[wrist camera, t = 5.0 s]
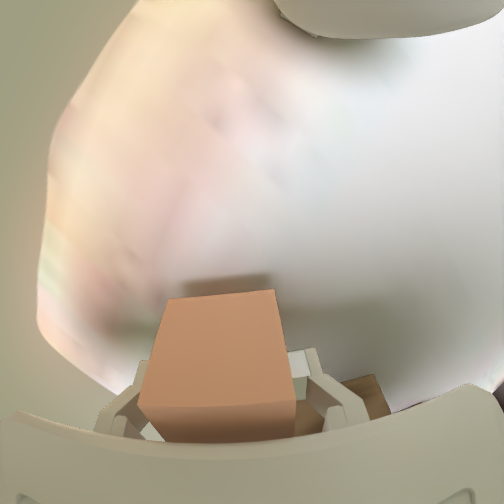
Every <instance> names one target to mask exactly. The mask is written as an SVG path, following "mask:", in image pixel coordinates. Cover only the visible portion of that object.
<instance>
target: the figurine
mask: <svg viewBox="0 0 504 504" xmlns="http://www.w3.org/2000/svg"><path fill="white" fill-rule="evenodd" d="M274 2H275V4H276V5H277V7H278V8H279V10H280V11H281V14H280V15H281V17H283V18H284V19H286V20H288V21H289V22H291V23H293V24H294V25H296V26H297V27H299V28H300V29H302V30H303V31H305V32H307V33H308V34H310V35H311V36H313V37H314V38H317V37H319V36H324V37H329V38H339V39H380V38H407V37H421V36H430V35H436V34H441V33H446V32H450V31H454V30H458V29H462V28H466V27H469V26H473V25H476V24H479V23H481V22H484V21H486V20H488V19H490V18H492V17H494V16H495V15H496V14H498V13H499V12H500V11H501V10H502V9H503V7H504V0H274Z"/></svg>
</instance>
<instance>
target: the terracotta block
mask: <svg viewBox="0 0 504 504" xmlns="http://www.w3.org/2000/svg"><path fill="white" fill-rule="evenodd" d="M137 405H138V407H139V408H140V409H141V411H142V412H143V414H144V415H145V416H146V417H147V419H148V420H149V421H150V423H151V424H152V425H153V426H154V428H155V429H156V430H157V431H158V433H159V434H160V435H161V436H162V438H164V440H165V441H166V442H176V443H240V442H255V441H267V440H276V439H284V438H291V437H294V434H295V416H296V395H295V390H294V385H293V379H292V374H291V369H290V364H289V359H288V354H287V349H286V344H285V339H284V334H283V329H282V325H281V320H280V315H279V310H278V305H277V300H276V295H275V291H274V289H268V290H259V291H250V292H240V293H230V294H220V295H209V296H198V297H186V298H173V299H168V301H167V304H166V307H165V310H164V314H163V317H162V320H161V323H160V326H159V329H158V332H157V336H156V339H155V342H154V345H153V349H152V352H151V356H150V359H149V362H148V366H147V369H146V373H145V377H144V380H143V384H142V388H141V391H140V395H139V399H138V403H137Z"/></svg>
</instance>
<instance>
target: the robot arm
mask: <svg viewBox="0 0 504 504" xmlns="http://www.w3.org/2000/svg"><path fill="white" fill-rule="evenodd" d="M287 354H288V359H289V364H290V369H291V374H292V379H293V385H294V390H295V395H296V401H297V400H305V399H306V401H307V402H308V403H309V404H310V405H311V406H312V407H313V408H314V409H315V410H316V411H317V412H318V413H319V414H320V415H321V416H322V417H324V418H325V421H324V425H323V429H322V432H321V433H316V434H310V435H305V436H298V437H291V438H284V439H276V440H267V441H255V442H240V443H176V442H161V441H150V440H146V439H145V438H144V437H143V436H142V435H141V434H140V432H141V431H142V429H143V428H144V427H145V426H146V424H147V423H148V422H149V420H148V419H147V417H146V416H145V415H144V414H143V412H142V411H141V409H140V408H139V407H138V405H137V403H138V399H139V395H140V391H141V388H142V384H143V380H144V377H145V373H146V369H147V366H148V362H149V360H141V362H140V363H139V366H138V369H137V373H136V376H135V379H134V382H133V386H132V385H130V386H129V387H128V388H126V389H125V390H124V391H123V392H122V393H121V394H120V395H118V396H117V397H116V398H115V399H114V400H113V401H112V402H110V403H109V404H108V405H107V406H106V407H105V408H103V409H102V410H101V411H100V412H99V415H98V418H97V421H96V425H95V428H94V431H88V430H83V429H80V428H75V427H71V426H68V425H64V424H61V423H57V422H53V421H50V420H47V419H44V418H41V417H38V416H35V415H32V414H29V413H27V412H24V411H21V410H17V411H15V412H13V413H11V414H10V415H8V416H7V417H5V418H4V419H3V420H1V421H0V504H504V413H503V411H502V409H501V407H500V405H499V404H498V402H497V400H496V399H495V397H494V396H493V395H492V394H491V393H490V392H488V391H486V390H484V389H482V388H480V387H478V386H475V385H473V384H464V385H462V386H460V387H458V388H455V389H453V390H451V391H449V392H447V393H445V394H442V395H440V396H438V397H436V398H433V399H431V400H429V401H426V402H424V403H421V404H419V405H416V406H413V407H411V408H408V409H405V410H402V411H399V412H397V413H394V414H391V415H387V416H384V417H381V418H378V419H375V420H371V421H370V419H369V416H368V413H367V410H366V408H365V405H364V402H363V399H361V398H360V397H359V396H357V395H356V394H354V393H353V392H352V391H350V390H349V389H347V388H346V387H345V386H343V385H342V384H340V383H339V382H338V381H336V380H335V379H334V378H332V377H331V376H329V375H328V374H327V373H325V374H323V371H322V368H321V364H320V361H319V358H318V355H317V351H316V349H315V348H314V347H313V348H307V349H300V350H294V351H287Z"/></svg>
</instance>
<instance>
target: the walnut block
mask: <svg viewBox="0 0 504 504" xmlns="http://www.w3.org/2000/svg"><path fill="white" fill-rule="evenodd" d="M340 384H342V385H343V386H345V387H346V388H347V389H349V390H350V391H352V392H353V393H354V394H356V395H357V396H359V397H360V398H361V399H363V402H364V405H365V408H366V410H367V413H368V416H369V419H370V421H371V420H375V419H378V418H381V417H384V416H387V415H391V414H392V413H391V411H390V409H389V407H388V404H387V402H386V400H385V398H384V396H383V394H382V391H381V389H380V387H379V385H378V383H377V381H376V379H375V377H374V375H373V374H371V375H368V376H364V377H361V378H357V379H353V380H350V381H346V382H342V383H340ZM324 421H325V418H324V417H322V416H321V415H320V414H319V413H318V412H317V411H316V410H315V409H314V408H313V407H312V406H311V405H310V404H309V403H308V402H307V401H306V399H305V400H297V401H296V416H295V434H294V437H298V436H305V435H310V434H316V433H321V432H322V429H323V425H324Z"/></svg>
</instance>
